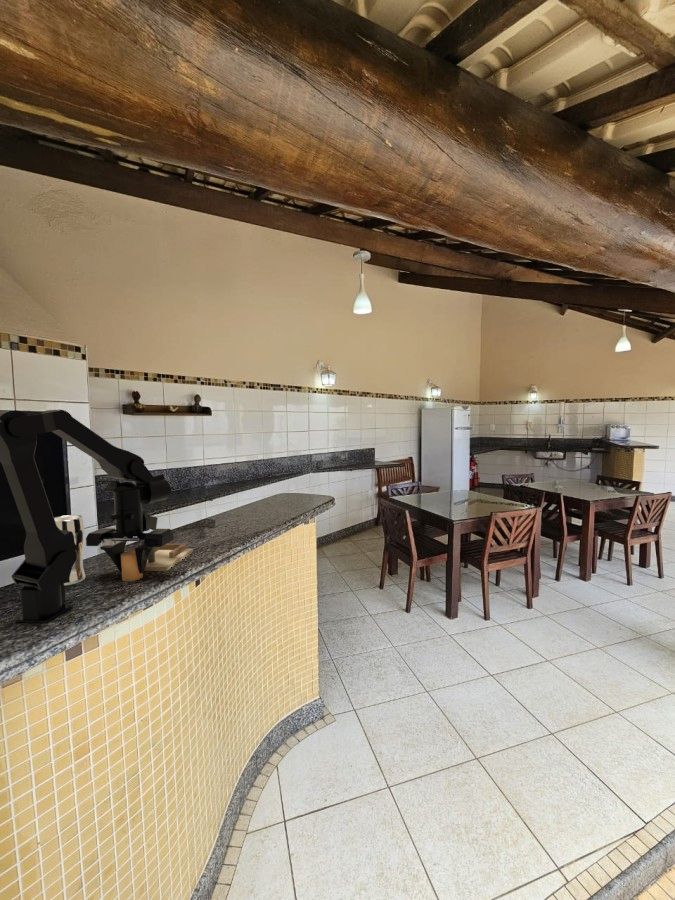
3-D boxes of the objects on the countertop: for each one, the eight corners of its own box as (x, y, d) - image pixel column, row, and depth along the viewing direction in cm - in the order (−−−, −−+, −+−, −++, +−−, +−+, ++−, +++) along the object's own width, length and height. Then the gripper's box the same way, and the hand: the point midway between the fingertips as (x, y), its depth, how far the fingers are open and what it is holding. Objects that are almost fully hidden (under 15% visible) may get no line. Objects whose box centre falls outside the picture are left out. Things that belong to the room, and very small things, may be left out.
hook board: (166, 570, 98) (165, 550, 97) (121, 570, 99) (120, 550, 99) (192, 552, 112) (192, 534, 111) (152, 551, 113) (151, 534, 113)
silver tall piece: (69, 587, 89) (65, 522, 88) (44, 585, 90) (39, 521, 89) (94, 575, 96) (90, 514, 95) (70, 574, 97) (66, 514, 96)
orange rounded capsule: (135, 581, 92) (134, 556, 91) (118, 581, 92) (116, 556, 92) (146, 574, 96) (145, 550, 96) (129, 574, 96) (128, 549, 96)
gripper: (183, 501, 100) (186, 561, 101) (114, 501, 102) (117, 560, 103) (158, 511, 89) (162, 578, 90) (81, 510, 91) (86, 577, 92)
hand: (132, 572), depth 94 cm, fingers closed on orange rounded capsule, 4 cm apart
